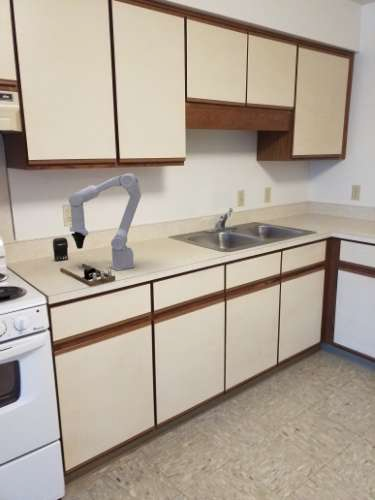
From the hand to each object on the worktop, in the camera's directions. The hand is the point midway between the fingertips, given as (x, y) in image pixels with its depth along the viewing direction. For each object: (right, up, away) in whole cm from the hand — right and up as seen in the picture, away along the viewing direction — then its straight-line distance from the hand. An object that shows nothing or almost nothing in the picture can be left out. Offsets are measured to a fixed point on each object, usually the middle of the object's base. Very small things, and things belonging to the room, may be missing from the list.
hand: (79, 248), depth 183 cm
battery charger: (-13, -6, +15) cm, 21 cm away
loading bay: (+6, -12, -10) cm, 17 cm away
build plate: (+8, -13, -12) cm, 19 cm away
